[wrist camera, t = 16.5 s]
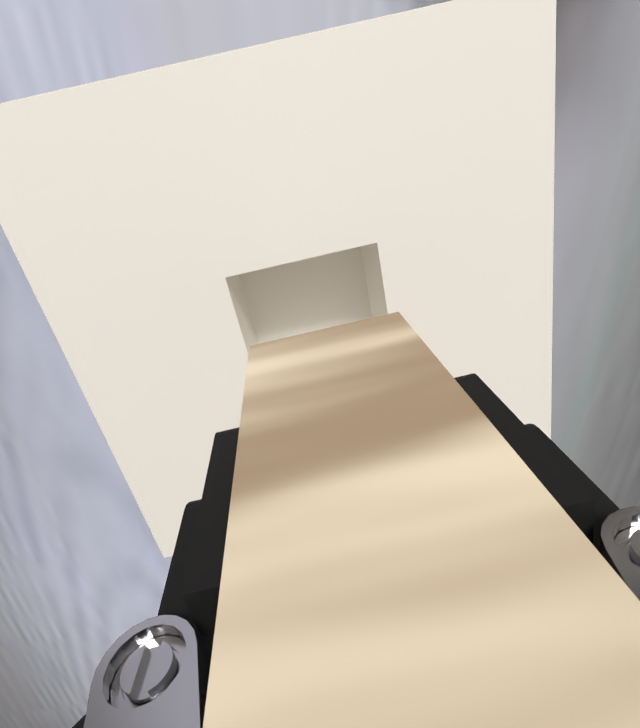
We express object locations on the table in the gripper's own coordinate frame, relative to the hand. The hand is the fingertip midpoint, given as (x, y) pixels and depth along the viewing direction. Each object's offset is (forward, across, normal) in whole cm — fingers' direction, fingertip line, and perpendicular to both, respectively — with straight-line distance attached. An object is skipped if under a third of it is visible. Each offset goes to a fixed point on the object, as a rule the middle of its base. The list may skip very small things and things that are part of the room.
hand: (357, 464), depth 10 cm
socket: (+15, 0, 0) cm, 15 cm away
